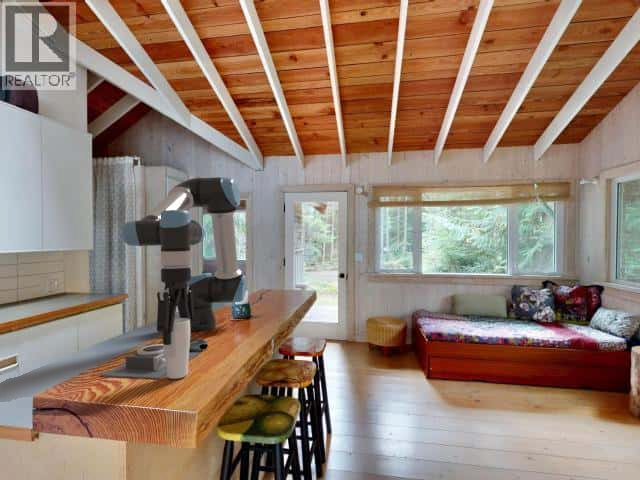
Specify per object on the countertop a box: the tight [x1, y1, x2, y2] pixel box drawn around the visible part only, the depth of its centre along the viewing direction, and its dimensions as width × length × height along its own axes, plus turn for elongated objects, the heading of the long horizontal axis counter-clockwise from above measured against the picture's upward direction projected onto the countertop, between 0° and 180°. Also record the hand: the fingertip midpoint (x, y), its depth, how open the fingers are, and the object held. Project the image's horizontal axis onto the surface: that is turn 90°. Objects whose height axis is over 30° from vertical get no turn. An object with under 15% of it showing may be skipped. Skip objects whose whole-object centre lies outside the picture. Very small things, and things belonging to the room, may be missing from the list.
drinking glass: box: [166, 317, 191, 380], centre depth 96 cm, size 7×7×15 cm
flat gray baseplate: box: [99, 343, 202, 380], centre depth 106 cm, size 22×18×5 cm
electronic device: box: [160, 338, 209, 353], centre depth 122 cm, size 9×6×15 cm
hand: (177, 351), depth 96 cm, fingers closed on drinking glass, 7 cm apart
